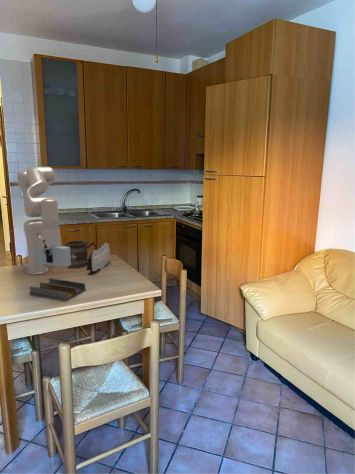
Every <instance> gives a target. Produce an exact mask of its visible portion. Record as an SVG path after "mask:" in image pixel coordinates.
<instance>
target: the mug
mask: <svg viewBox="0 0 355 474" xmlns="http://www.w3.org/2000/svg"><path fill="white" fill-rule="evenodd" d="M92 245H93V246H94V250H96V249H98V248H97V244H96V243H93V242H92V243H89V245H88V241H85V240H77V239H76V240H70V241H66V242H65V243H64V246H65V247H70V256H71V265H70V266H67V267H66V268H68V269H83V268H87V262H88V259H89V258H88V249H89V248H90V247H91V246H92Z"/></svg>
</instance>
